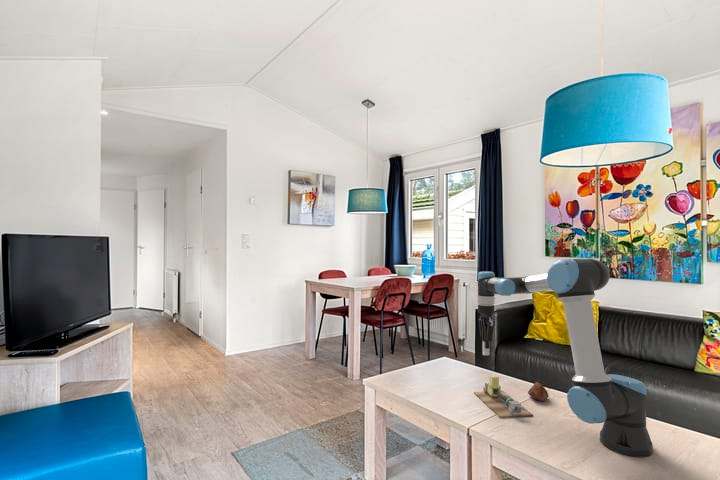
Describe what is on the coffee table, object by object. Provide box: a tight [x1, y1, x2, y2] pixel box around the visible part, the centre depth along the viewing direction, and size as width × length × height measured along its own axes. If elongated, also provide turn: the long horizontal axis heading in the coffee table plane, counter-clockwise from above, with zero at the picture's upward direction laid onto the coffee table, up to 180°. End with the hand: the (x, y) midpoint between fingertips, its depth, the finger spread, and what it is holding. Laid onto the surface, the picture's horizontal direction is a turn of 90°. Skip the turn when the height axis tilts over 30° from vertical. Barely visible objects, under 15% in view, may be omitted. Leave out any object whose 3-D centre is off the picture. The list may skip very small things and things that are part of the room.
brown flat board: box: [473, 382, 534, 419], centre depth 170 cm, size 26×14×5 cm, turn 6°
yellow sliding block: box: [487, 374, 502, 396], centre depth 177 cm, size 4×4×8 cm
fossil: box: [527, 381, 550, 402], centre depth 177 cm, size 13×8×10 cm
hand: (486, 354), depth 185 cm, fingers closed
